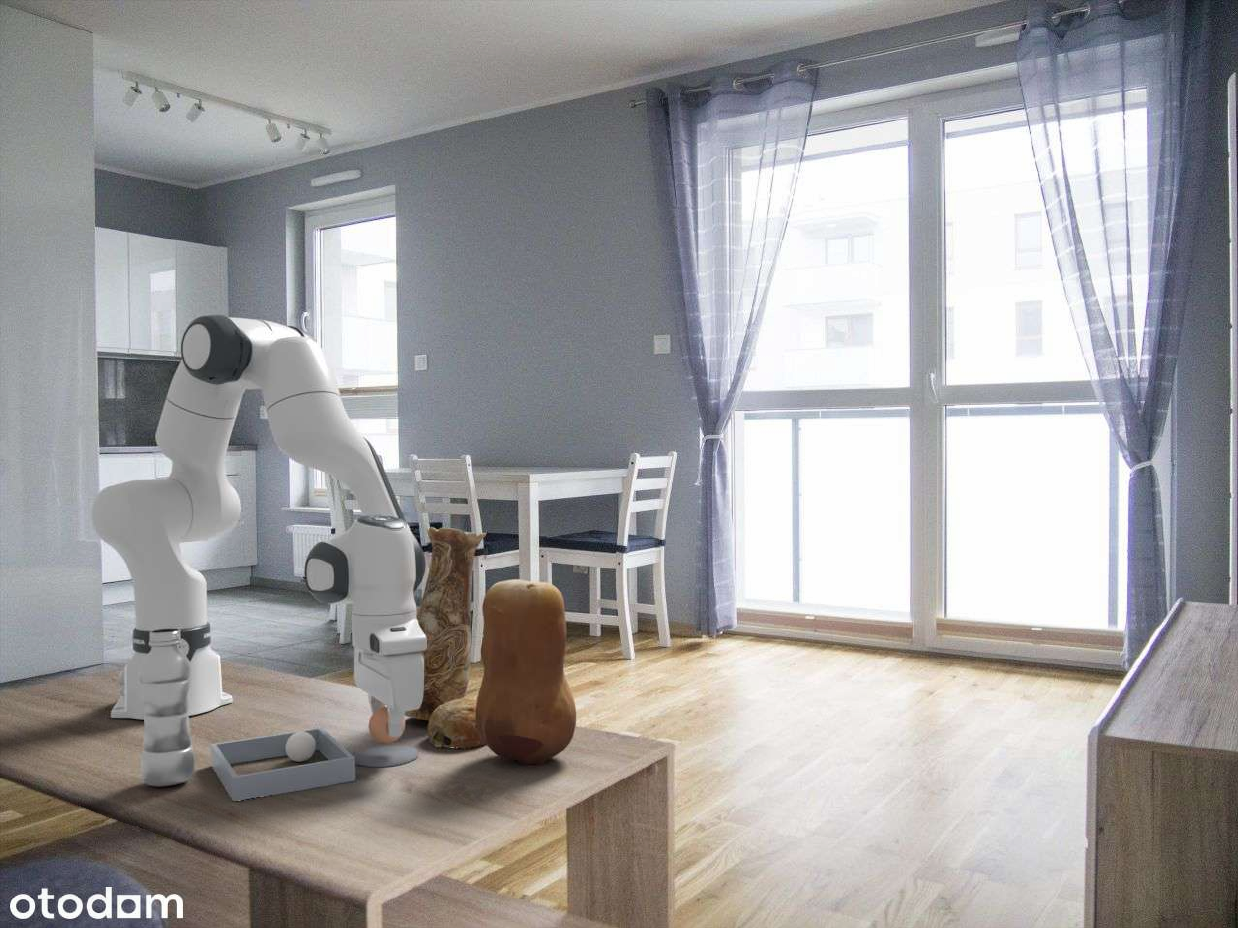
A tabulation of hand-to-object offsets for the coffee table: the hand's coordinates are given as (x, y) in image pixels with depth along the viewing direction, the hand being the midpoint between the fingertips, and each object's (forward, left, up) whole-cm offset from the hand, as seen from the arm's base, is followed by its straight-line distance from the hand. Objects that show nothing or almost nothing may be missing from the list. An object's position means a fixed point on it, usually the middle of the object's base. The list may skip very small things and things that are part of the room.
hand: (387, 730), depth 139 cm
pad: (0, 0, -4) cm, 4 cm away
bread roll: (-3, +12, -4) cm, 13 cm away
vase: (-14, +12, -3) cm, 19 cm away
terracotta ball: (0, 0, -2) cm, 2 cm away
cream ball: (-5, -11, -4) cm, 12 cm away
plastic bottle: (-5, -28, -4) cm, 28 cm away
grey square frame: (-1, -14, -4) cm, 15 cm away
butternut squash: (+12, +16, -4) cm, 20 cm away
